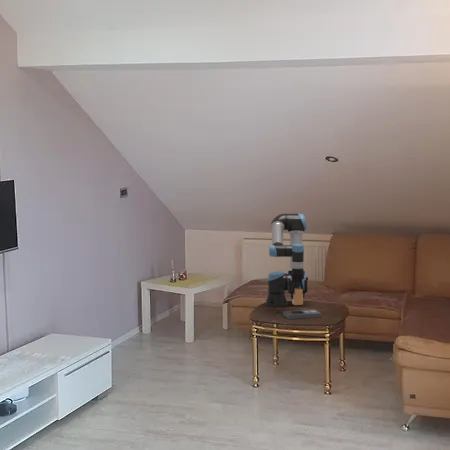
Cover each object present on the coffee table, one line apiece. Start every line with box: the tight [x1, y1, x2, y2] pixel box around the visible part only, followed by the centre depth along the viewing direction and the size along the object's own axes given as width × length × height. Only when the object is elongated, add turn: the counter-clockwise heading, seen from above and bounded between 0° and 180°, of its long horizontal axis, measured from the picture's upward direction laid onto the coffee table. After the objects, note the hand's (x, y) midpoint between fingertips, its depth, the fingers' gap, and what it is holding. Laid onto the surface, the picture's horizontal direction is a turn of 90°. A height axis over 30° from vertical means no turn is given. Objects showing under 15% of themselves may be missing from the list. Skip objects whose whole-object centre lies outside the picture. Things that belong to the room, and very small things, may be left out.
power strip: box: [282, 309, 322, 320], centre depth 446 cm, size 12×22×3 cm, turn 103°
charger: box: [293, 288, 304, 306], centre depth 444 cm, size 5×5×10 cm
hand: (297, 303), depth 444 cm, fingers closed on charger, 5 cm apart
